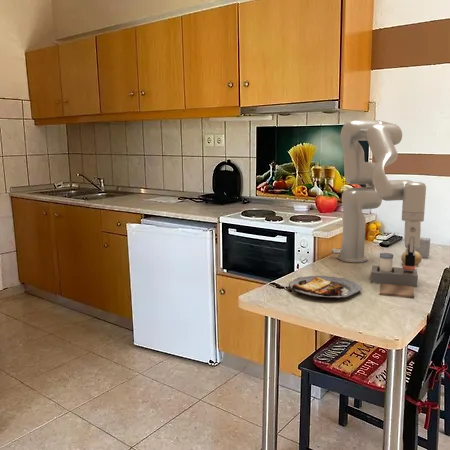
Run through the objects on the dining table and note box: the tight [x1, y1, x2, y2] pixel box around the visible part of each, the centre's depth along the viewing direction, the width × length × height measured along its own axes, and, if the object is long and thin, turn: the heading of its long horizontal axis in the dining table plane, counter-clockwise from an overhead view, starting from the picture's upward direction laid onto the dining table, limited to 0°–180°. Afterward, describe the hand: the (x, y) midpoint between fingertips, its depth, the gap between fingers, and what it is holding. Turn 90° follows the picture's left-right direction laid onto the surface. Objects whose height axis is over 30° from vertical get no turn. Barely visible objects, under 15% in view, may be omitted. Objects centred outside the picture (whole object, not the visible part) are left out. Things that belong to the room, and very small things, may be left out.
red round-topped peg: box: [401, 263, 416, 271], centre depth 174 cm, size 4×4×7 cm
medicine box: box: [415, 236, 431, 259], centre depth 212 cm, size 8×4×9 cm, turn 58°
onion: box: [400, 247, 423, 267], centre depth 198 cm, size 8×8×7 cm
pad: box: [379, 283, 415, 299], centre depth 164 cm, size 11×11×1 cm
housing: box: [370, 264, 419, 288], centre depth 176 cm, size 16×10×4 cm, turn 71°
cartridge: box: [379, 252, 394, 272], centre depth 176 cm, size 5×5×10 cm
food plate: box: [288, 275, 363, 299], centre depth 165 cm, size 25×23×4 cm
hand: (409, 265), depth 173 cm, fingers closed
